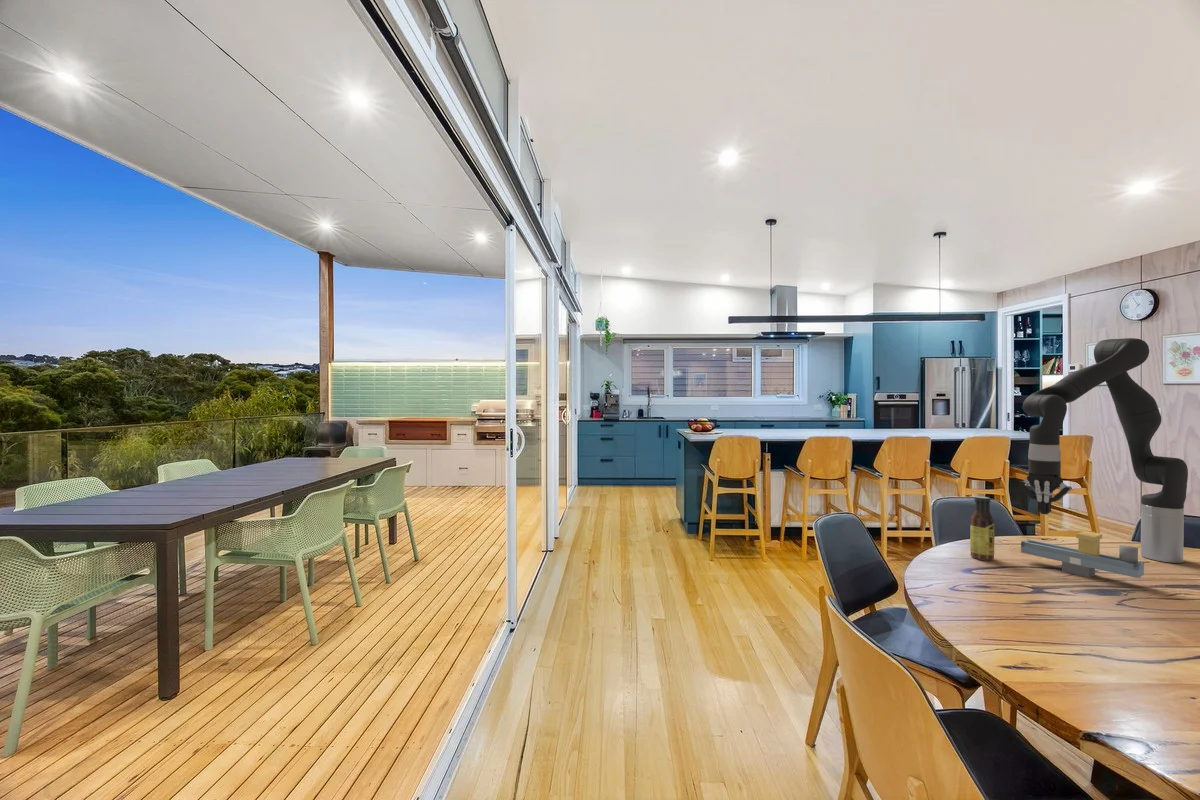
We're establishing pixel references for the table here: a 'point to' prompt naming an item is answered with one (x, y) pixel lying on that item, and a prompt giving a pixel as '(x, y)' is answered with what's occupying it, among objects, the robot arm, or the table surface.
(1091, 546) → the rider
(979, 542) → the sauce bottle
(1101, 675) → the table surface
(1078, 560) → the beam
